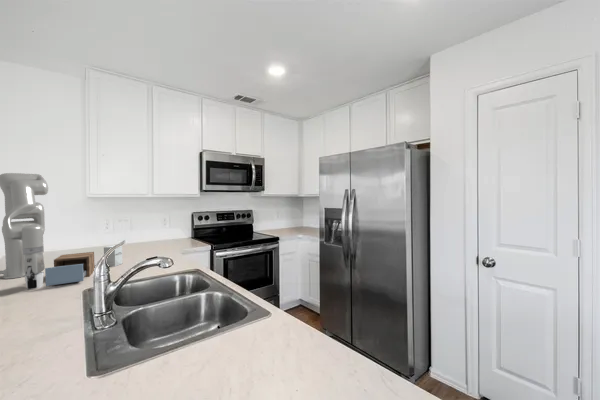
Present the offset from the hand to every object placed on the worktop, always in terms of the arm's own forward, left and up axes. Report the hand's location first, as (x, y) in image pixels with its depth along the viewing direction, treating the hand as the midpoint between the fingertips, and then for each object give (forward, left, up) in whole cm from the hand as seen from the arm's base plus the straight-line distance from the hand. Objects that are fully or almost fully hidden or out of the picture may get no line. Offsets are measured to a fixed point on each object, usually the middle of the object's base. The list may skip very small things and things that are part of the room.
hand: (34, 286), depth 134 cm
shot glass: (0, 0, -1) cm, 1 cm away
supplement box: (+29, +31, -1) cm, 42 cm away
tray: (+13, +2, +1) cm, 13 cm away
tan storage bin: (+13, +15, -1) cm, 20 cm away
